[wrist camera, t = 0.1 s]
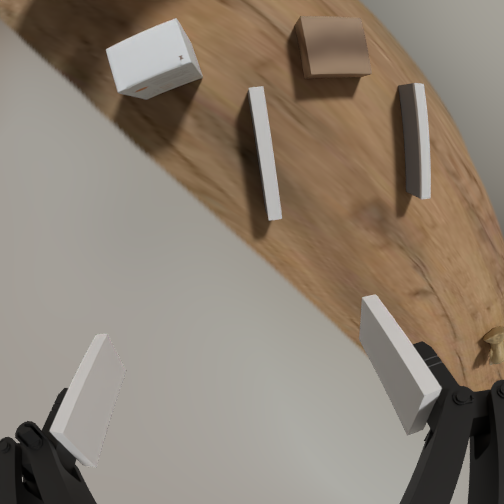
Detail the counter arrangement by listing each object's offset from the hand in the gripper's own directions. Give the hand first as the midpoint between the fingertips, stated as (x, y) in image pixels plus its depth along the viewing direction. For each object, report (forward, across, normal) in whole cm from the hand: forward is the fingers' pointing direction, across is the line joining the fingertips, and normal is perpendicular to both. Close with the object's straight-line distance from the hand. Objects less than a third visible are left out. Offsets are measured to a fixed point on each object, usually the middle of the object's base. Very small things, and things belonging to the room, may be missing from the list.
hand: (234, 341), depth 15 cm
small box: (+28, -6, +19) cm, 35 cm away
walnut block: (+28, +16, +19) cm, 38 cm away
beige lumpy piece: (+28, +58, -42) cm, 77 cm away
